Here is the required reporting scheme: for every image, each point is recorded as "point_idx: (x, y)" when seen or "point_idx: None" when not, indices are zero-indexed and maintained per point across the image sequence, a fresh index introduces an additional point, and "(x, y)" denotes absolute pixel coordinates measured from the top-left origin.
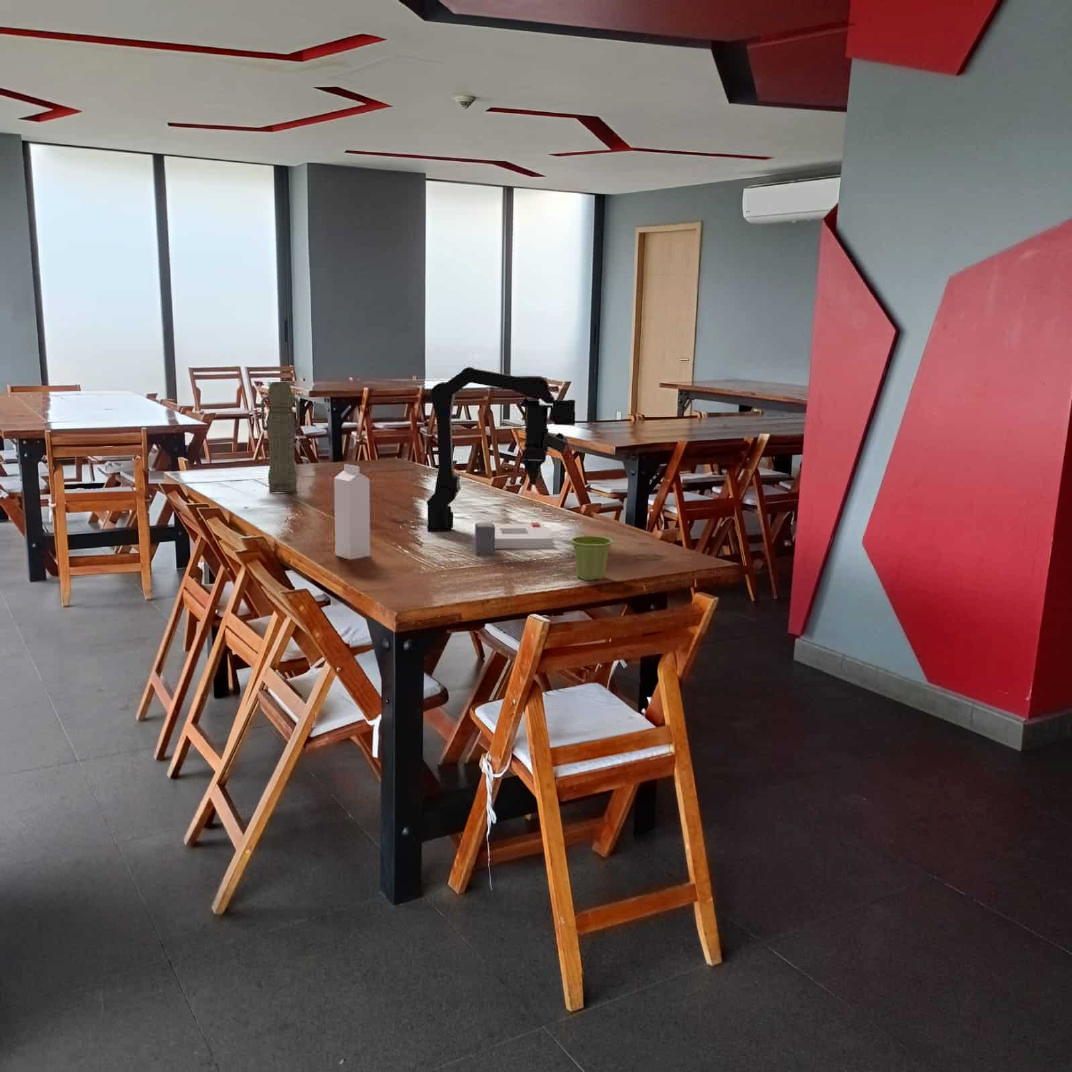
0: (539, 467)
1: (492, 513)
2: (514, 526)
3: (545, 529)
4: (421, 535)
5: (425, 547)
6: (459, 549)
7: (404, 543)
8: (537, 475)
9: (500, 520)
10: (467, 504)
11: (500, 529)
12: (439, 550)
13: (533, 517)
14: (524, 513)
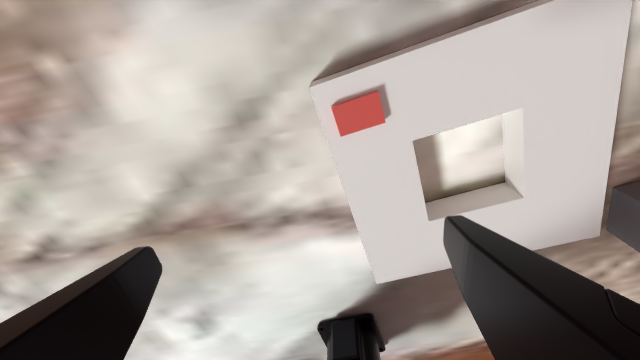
0: (28, 333)
1: None
2: (388, 184)
3: (424, 55)
4: (423, 348)
5: None
6: (579, 263)
7: None
8: (549, 266)
9: (178, 243)
10: None
11: (427, 216)
12: None
13: (69, 165)
14: (31, 202)
